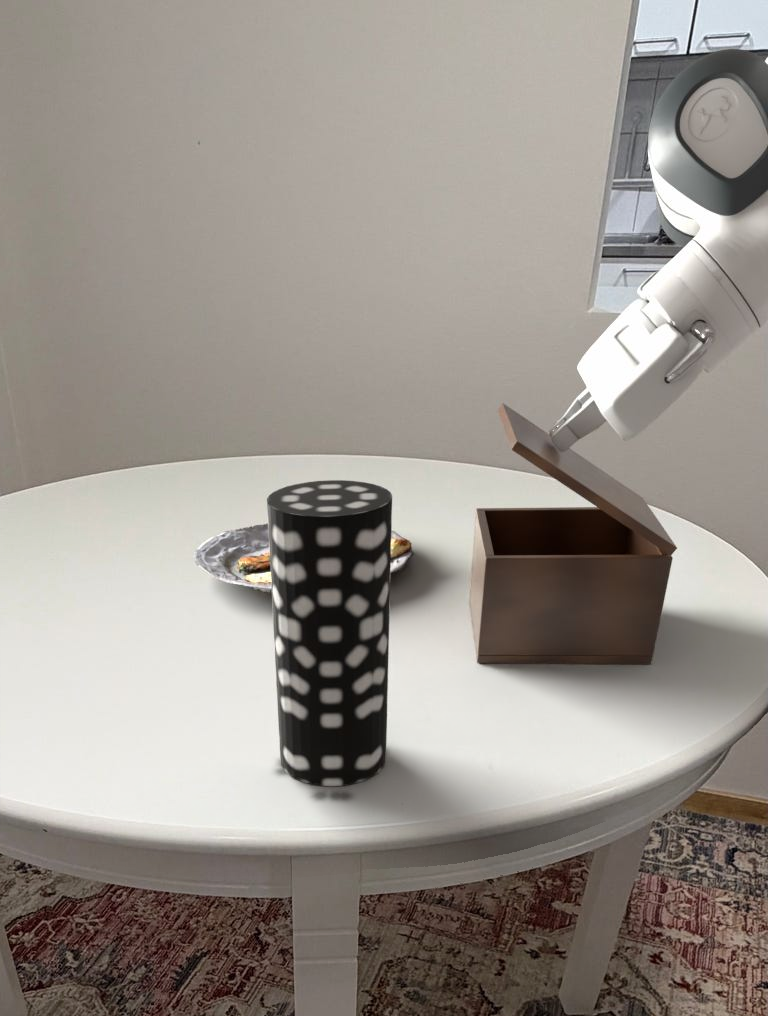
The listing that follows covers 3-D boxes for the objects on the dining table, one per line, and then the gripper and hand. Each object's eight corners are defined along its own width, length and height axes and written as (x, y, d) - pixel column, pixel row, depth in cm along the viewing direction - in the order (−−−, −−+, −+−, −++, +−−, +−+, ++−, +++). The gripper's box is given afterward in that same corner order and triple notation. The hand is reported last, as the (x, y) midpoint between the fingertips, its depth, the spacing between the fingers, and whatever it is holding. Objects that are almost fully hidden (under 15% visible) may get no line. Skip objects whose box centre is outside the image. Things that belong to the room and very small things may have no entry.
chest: (476, 663, 88) (485, 558, 82) (468, 603, 100) (476, 508, 94) (651, 664, 86) (673, 557, 80) (622, 603, 98) (639, 506, 92)
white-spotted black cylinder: (277, 787, 72) (262, 518, 60) (283, 733, 78) (270, 482, 67) (388, 786, 71) (394, 514, 59) (384, 732, 78) (389, 478, 66)
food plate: (349, 524, 123) (349, 496, 121) (452, 578, 106) (454, 546, 104) (167, 560, 114) (164, 530, 112) (248, 624, 97) (245, 591, 95)
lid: (510, 449, 77) (517, 440, 76) (497, 410, 88) (502, 402, 88) (670, 556, 80) (677, 548, 80) (637, 505, 92) (643, 498, 92)
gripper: (745, 368, 70) (589, 503, 77) (691, 326, 87) (566, 441, 94) (695, 300, 68) (540, 445, 75) (649, 270, 85) (525, 392, 92)
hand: (554, 442), depth 85 cm, fingers closed
